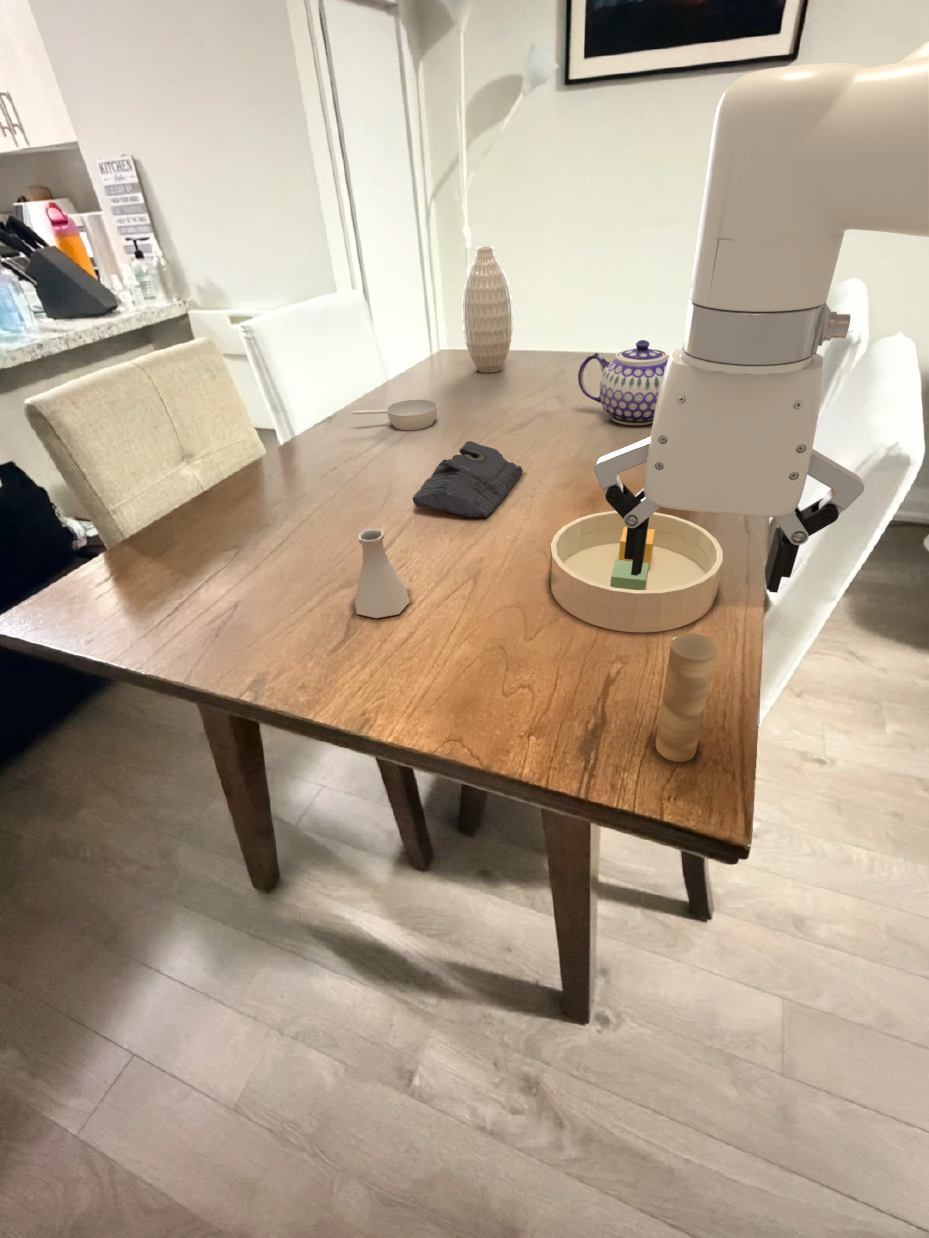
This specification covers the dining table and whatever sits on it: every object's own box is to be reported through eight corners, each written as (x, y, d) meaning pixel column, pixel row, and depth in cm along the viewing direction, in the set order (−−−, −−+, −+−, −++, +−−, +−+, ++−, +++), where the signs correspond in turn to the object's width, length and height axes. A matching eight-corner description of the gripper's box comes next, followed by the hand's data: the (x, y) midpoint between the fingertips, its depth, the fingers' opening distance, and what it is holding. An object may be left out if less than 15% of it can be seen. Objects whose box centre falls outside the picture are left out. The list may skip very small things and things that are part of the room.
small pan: (440, 429, 135) (439, 410, 132) (354, 438, 134) (351, 420, 131) (436, 413, 143) (434, 395, 141) (355, 421, 142) (352, 404, 140)
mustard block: (652, 556, 86) (655, 529, 84) (649, 571, 83) (652, 544, 81) (621, 553, 87) (623, 526, 85) (617, 567, 84) (620, 541, 82)
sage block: (645, 590, 80) (649, 562, 77) (642, 608, 77) (646, 580, 74) (613, 587, 81) (615, 559, 78) (608, 604, 78) (611, 576, 75)
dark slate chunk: (397, 513, 103) (393, 486, 101) (447, 461, 120) (445, 436, 117) (487, 523, 99) (486, 495, 96) (527, 468, 115) (526, 442, 112)
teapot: (564, 423, 133) (566, 346, 124) (590, 400, 143) (593, 328, 135) (688, 437, 122) (700, 354, 113) (706, 411, 133) (718, 334, 124)
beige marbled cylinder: (696, 737, 61) (717, 636, 54) (695, 765, 58) (717, 662, 51) (657, 730, 62) (672, 630, 55) (653, 757, 59) (669, 656, 52)
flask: (414, 588, 85) (405, 520, 79) (405, 620, 79) (394, 549, 73) (361, 588, 86) (348, 520, 80) (348, 619, 80) (333, 549, 74)
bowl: (716, 553, 87) (722, 517, 84) (714, 643, 72) (722, 603, 68) (566, 539, 93) (567, 504, 90) (534, 620, 77) (534, 581, 74)
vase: (523, 367, 170) (522, 244, 153) (492, 379, 162) (487, 251, 146) (486, 361, 177) (482, 243, 161) (455, 372, 170) (447, 250, 153)
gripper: (899, 322, 39) (822, 563, 49) (612, 319, 44) (595, 538, 54) (928, 353, 34) (834, 618, 44) (595, 345, 38) (580, 586, 48)
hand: (702, 574), depth 49 cm, fingers open, 9 cm apart
